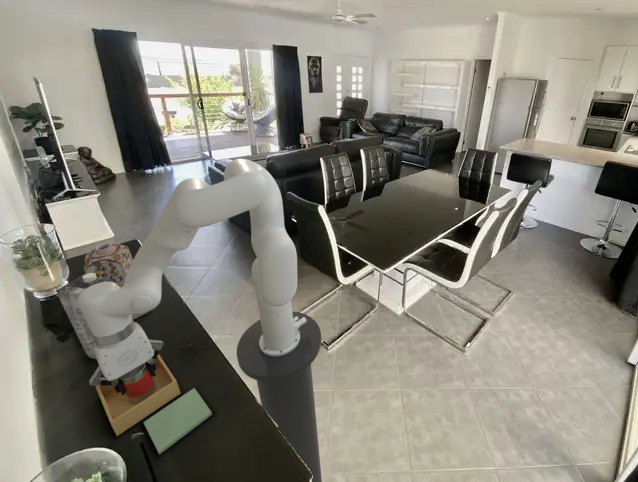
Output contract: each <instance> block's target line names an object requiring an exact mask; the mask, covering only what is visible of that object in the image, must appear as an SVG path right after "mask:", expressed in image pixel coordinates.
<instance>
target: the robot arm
mask: <svg viewBox="0 0 638 482" xmlns="http://www.w3.org/2000/svg"><path fill="white" fill-rule="evenodd" d="M247 211H249V218H250V232H251V233H250V234H251V236H250V237H251V238H250V239H251V241H250V243H251V247H252V250H253V252H254V254H255V256H256V258H255V259H254V261H253V263H252V265H251V270H250V271H251V278H252V282H253V286H254V287H253V288H254V292H255V296H256V302H257V308H258V314H259V320H261V326H262V332H263V334H262V335H261V337H260V340H259V346H260V349H261V351H262V352H263V353H264V354H266V355H268V356H272V357H277V356H282V355H285V354H287V353H289V352H291V351H292V350H293V349H295V347H296V346H297V345H298V343H299V341H300V332H299V330H298V329H299V328H300V326H301V325H303V324H305V323H306V322H307V320H306V318H305V317H303V318H302V319H300V320H299V318H298V317H297V316H296V317H295V318H293V314H292V311H293V307H292V300H293V298H294V297H295V295H296V293H297V289H298V254H297V249H296V244H295V243H294V241H293V240H292V238H291V237H290V236H289V234H288V232H287V229H286V226H285V215H284V204H283V197H282V193H281V189H280V188H279V185H278V184H277V182H276V179H274V177H273V176H272V174H271V173H270V172H269V171H268V170H267V169H266V168H265V167H263V166H262V165H261V164H258V163H257V162H255V161H253V160H251V159H247V158H236V159H234V160H232V161H230V162H229V163H228V164H227V165H226V166H225V168H224V172H223V180H222V181H219V182H217V183H215V184H211V185H210V184H209V183H208V182H206V181H204V180H202V179H199V178H194V177H192V178H186V179H183V180H181V181H180V182H179V183H178V184H177V185H176V186H175V188H174V189H173V191H172V192H171V195H170V196H169V198H168V199H167V201H166V203H165V205H164V207H163V209H162V211H161V213H160V215H159V216H158V218H157V219H156V222H155V224H154V226H153V227H152V228H151V231H150V233H149V234H147V237H146V239H145V240H144V241H143V242H142V244H141V246H139V248H138V251H137V253H136V254H135V256H134V257H133V258H132V259H133V261H132V263H131V265H130V267H129V269H128V271H127V273H126V277H125V281H124V286H122V287H119V285H118V284H116V283H114V282H101V283H97V284H94V285H92V286H90V287H88V288H86V289H85V290H84V291H82V292H81V293H80V295H79V297H78V305H79V307H80V309H81V311H82V313H83V315H84V317H85V319H86V322H87V324H88V326H89V328H90V330H91V332H92V334H93V335H91V337H90V338H89V339H86V342H87V344H88V345H89V344H91V343H92V344H93V343H94V350H95V355H96V358H97V359H96V361H97V364H98V367H97V368H96V369H95V371H94V373H93V374H92V375H91V377H90V379H89V380H88V383H89V385H90V386H97V385H101V386H112V387H114V388H115V390H116V393H119V392H121V394H122V396H123V395H125V391H124V389H123V387H122V385H121V383H120V381H119V379H118V378H119V377H121V376H122V375H124V374H126V373H128V372H129V371H131V370H133V369H135V368H136V367H138V366H140V365H141V364H143V363H145V362H146V363H147V366H148V367H149V370H150V372H151V375H152V376H156V374H155V372H154V371H155V370H157V368H156V366H155V359H156V357H157V356H158V354H159V355H160V351H161V350H162V348H163V347H164V345H165V343H164V342H163V340H158V339H149V338H148V336H147V334H146V332H145V330H144V329H143V328H142V326H141V325H140V324H139V323H138V322H136V321H134V320H133V318H132V316H131V315H132V314H139V313H144V312H148V313H149V312H151V311H153V310H154V309H156V308H157V307H158V306H159V305H160V303H161V300H162V288H163V287H162V285H163V284H162V283H163V282H162V280H163V274H164V272H165V270H166V268H167V266H168V264H169V263H170V260H171V259H172V257H173V256H174V255H175V254H176V252H177V251H179V252H180V251H184V250H187V249H188V248H189V247H190V246H191V244H192V242H193V241H194V238H195V237H196V235H197V233H198V232H199V229H201V228H205V227H209V226H213V225H215V224H218V223H221V222H223V221H225V220H229V219H230V218H232V217H235V216H237V215H240V214H243V213H245V212H247ZM297 320H299V321H298V322H296V321H297Z"/></svg>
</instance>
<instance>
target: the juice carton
mask: <svg viewBox="0 0 638 482" xmlns="http://www.w3.org/2000/svg"><path fill="white" fill-rule="evenodd" d="M101 282H111V281H110V278H105V277H96V274H95V273H89V274H86V273H83V274H81V275H80V276H78V277H77V278H75V279H73V280H71V281H69V282H68V283H66V284H65V285H63V286H61V287H59V288H58V289H56V290H55V292H56V295H57V296H58V299H59V300H60V303H61V305H62V307H63V309H64V311H65V313H66V315H67V318H68V319H69V322H70V323H71V326H72V328H73V331H74V332H75V334H76V336H77V338H78V340H79V342H80V344H81V347H82V348H83V350H84V352H85V353H86V355H87V356H88V358H90V359H93V360H97V358H96V355H95V350H94V343H93V344H92V343H91V344H89V345H88V344H87V342H86V339H89V338H90V337H91V335H93V334H92V332H91V330H90V328H89V326H88V324H87V322H86V319H85V317H84V315H83V313H82V311H81V309H80V307H79V305H78V297H79V295H80V293H81V292H82V291H84V290H85V289H86V288H88V287H90V286H92V285H94V284H97V283H101Z"/></svg>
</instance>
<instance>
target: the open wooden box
mask: <svg viewBox="0 0 638 482" xmlns="http://www.w3.org/2000/svg"><path fill="white" fill-rule="evenodd" d="M155 366H156V368H157V370H155V371H154V372H155V374H156V376H152V377H153V380H154V383H155V386H156V387H155V390H154V392H153V393H152V394H151V395H150V396H149V397H148V398H147V399H145V400H143V401H141V402H138V403H132V402H130V401H129V399H128V397H127V396H126V394H125V395H123V396H122V394H121V392H119V393H116V390H115V388H114V387H112V386H101V385H94V386H95V389H96V392H97V394H98V397H99V399H100V401H101V403H102V406H103V408H104V411H105V414H106V416H107V419H108V421H109V423H110V425H111V427H112V429H113V431H114V433H115V435H116V437H118V436H120V435H121V434H123V433H124V432H126V431H128V429H131V428H132V427H133V426H135V425H136V424H138V423H139V422H140V421H142V420H143V419H145V418H146V417H148V416H150V415H151V414H152V413H154V412H155V411H157V410H158V409H160V408H161V407H163V406H164V405H166V404H167V403H169V402H170V401H172V400H173V399H174V398H176V397H178V396H179V395H181V390H180V387H179V384H178V381H177V379H176V378H175V377H174V375H173V373H172V372H171V371H170V369H169V368H168V365H166V363H165V361H164V360H163V357H161V355H160V353H159V354H158V356H157V357H156V359H155ZM118 379H119V378H118ZM119 381H120V380H119Z"/></svg>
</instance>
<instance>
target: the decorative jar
mask: <svg viewBox="0 0 638 482" xmlns="http://www.w3.org/2000/svg"><path fill="white" fill-rule="evenodd" d="M133 259H134V258H133V256H132V254H131V251H130V249H129V246H127V245H124V244H120V243H101V244H99V245H97V246H95V248H94V249H92V250H89V251H88V252H87V253H86V255H85V257H84V263H83V271H84V274H89V273H95V274H96V277H105V278H110V281H111V282H114V283H116V284H118V285H119V287H122V286H124V281H125V277H126V273H127V271H128V269H129V267H130V265H131V263H132V261H133Z"/></svg>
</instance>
